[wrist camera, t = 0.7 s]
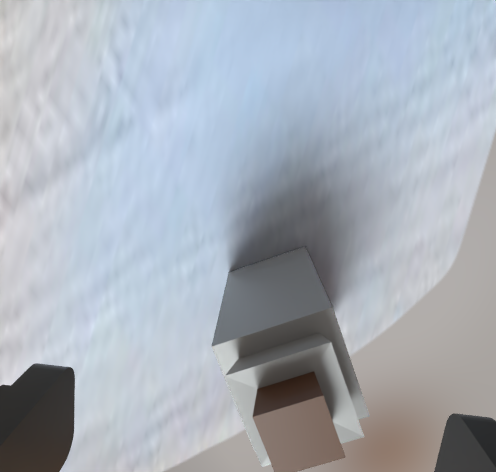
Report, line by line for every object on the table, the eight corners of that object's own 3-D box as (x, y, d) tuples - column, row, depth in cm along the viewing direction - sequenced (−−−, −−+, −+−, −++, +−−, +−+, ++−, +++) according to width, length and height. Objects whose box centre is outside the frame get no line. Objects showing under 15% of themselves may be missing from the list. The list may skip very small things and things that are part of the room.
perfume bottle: (305, 246, 36) (350, 347, 18) (330, 318, 37) (394, 478, 19) (228, 272, 36) (200, 394, 19) (255, 342, 38) (253, 518, 20)
